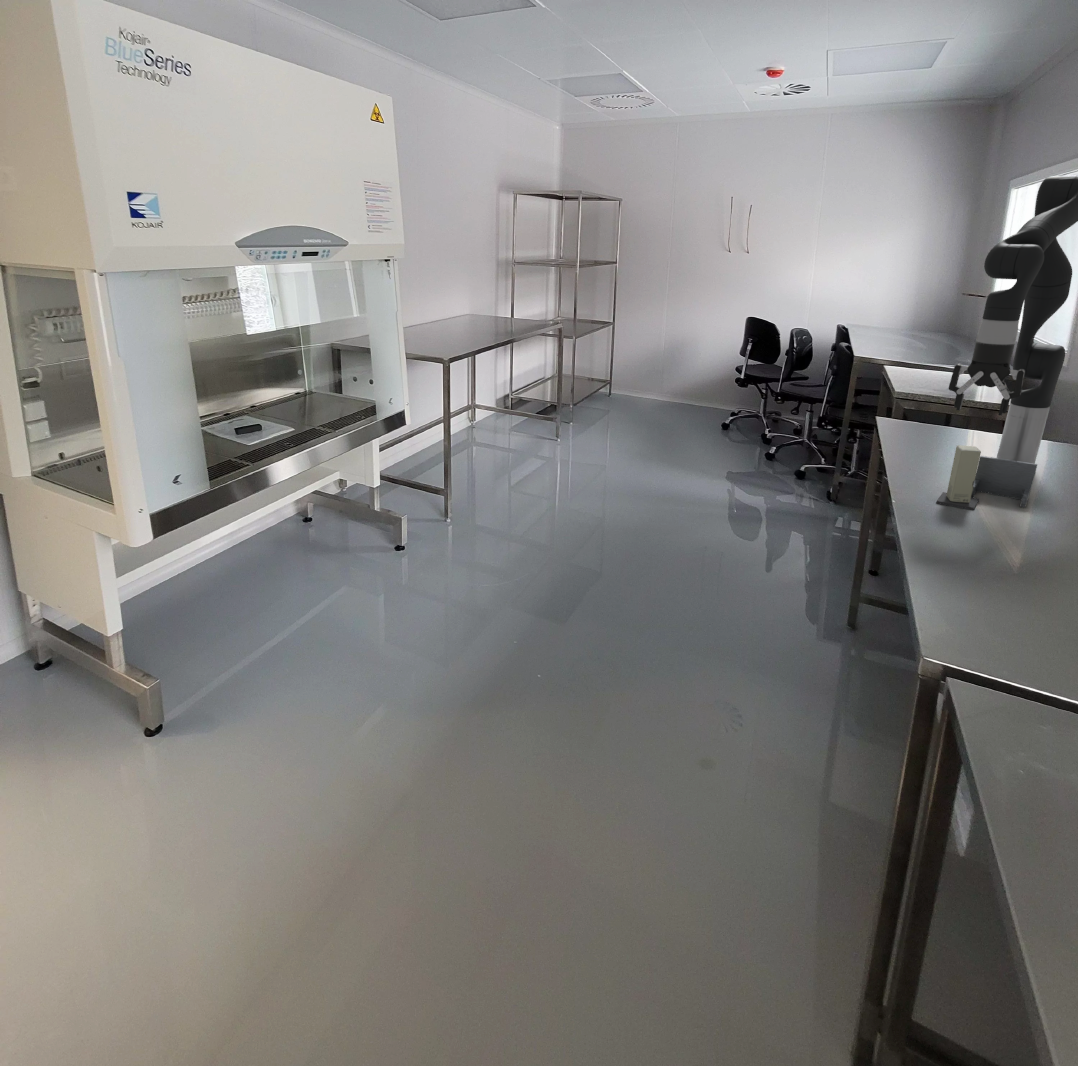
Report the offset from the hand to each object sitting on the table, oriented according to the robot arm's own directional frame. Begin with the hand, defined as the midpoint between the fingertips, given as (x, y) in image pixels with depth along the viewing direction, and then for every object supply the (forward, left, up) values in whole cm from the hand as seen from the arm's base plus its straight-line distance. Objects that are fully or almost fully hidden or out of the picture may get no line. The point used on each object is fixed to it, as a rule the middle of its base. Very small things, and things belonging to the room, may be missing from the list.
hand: (979, 412), depth 170 cm
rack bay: (-8, +7, -22) cm, 24 cm away
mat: (0, 0, -22) cm, 22 cm away
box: (0, 0, -22) cm, 22 cm away
